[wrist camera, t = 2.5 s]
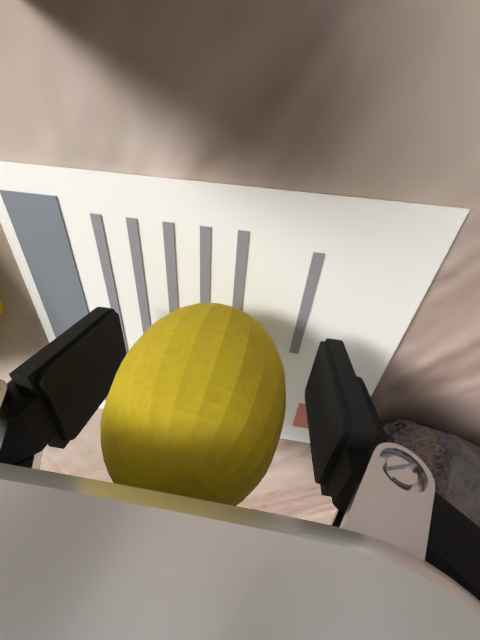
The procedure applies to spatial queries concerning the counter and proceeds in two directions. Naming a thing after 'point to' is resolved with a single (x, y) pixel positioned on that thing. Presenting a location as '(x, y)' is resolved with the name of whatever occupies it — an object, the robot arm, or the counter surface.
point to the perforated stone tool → (444, 462)
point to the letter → (227, 260)
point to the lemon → (196, 406)
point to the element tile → (1, 309)
